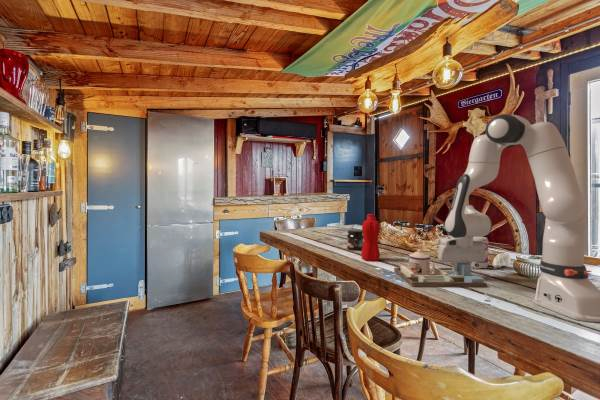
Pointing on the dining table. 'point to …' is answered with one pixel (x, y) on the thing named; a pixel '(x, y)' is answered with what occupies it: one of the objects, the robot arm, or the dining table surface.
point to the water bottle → (370, 239)
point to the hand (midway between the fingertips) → (461, 271)
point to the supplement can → (485, 263)
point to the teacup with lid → (420, 263)
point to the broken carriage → (450, 279)
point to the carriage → (442, 271)
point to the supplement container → (355, 240)
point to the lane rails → (457, 283)
